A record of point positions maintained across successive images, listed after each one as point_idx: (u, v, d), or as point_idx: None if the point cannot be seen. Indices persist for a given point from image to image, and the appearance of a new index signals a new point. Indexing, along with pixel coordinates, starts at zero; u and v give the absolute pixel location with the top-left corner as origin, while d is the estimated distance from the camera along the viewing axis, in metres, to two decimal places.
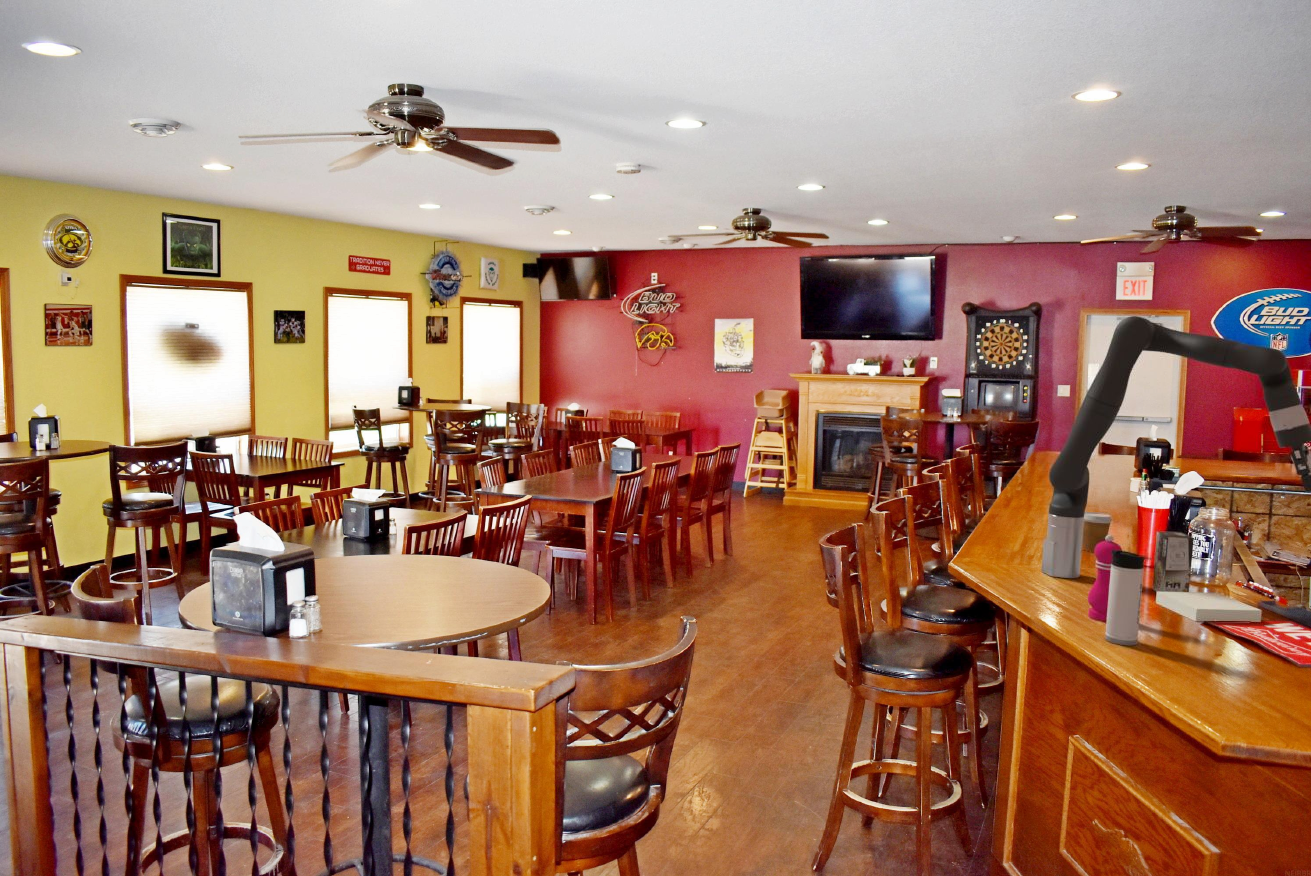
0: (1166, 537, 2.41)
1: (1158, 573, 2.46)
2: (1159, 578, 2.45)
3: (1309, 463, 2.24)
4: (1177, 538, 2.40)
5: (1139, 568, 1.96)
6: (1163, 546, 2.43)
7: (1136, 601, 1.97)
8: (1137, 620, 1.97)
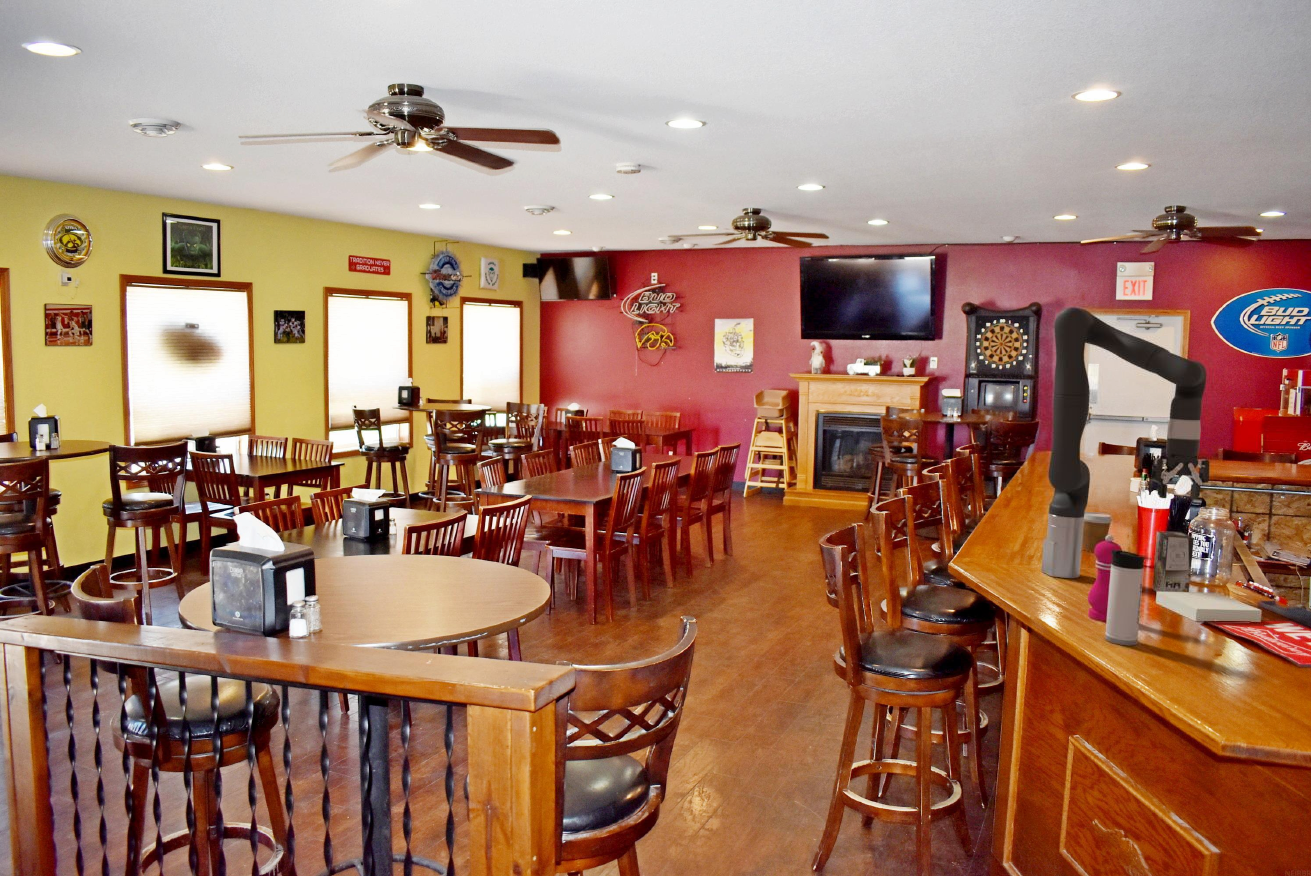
0: (1166, 537, 2.41)
1: (1158, 573, 2.46)
2: (1159, 578, 2.45)
3: (1169, 473, 2.41)
4: (1177, 538, 2.40)
5: (1139, 568, 1.96)
6: (1163, 546, 2.43)
7: (1136, 601, 1.97)
8: (1137, 620, 1.97)
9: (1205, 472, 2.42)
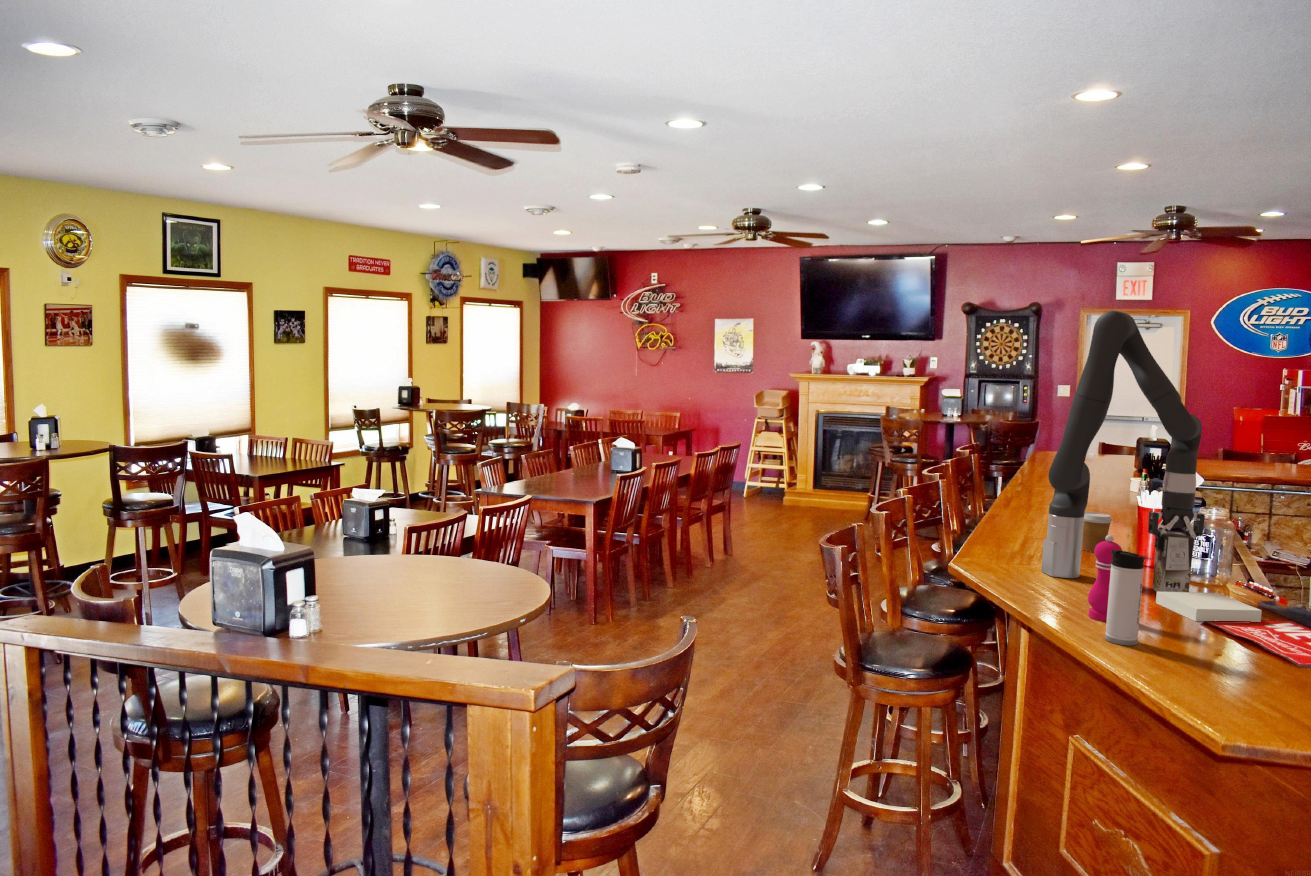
0: (1166, 537, 2.41)
1: (1158, 572, 2.46)
2: (1159, 578, 2.45)
3: (1165, 527, 2.42)
4: (1177, 538, 2.40)
5: (1139, 568, 1.96)
6: None
7: (1136, 601, 1.97)
8: (1137, 620, 1.97)
9: (1200, 526, 2.43)
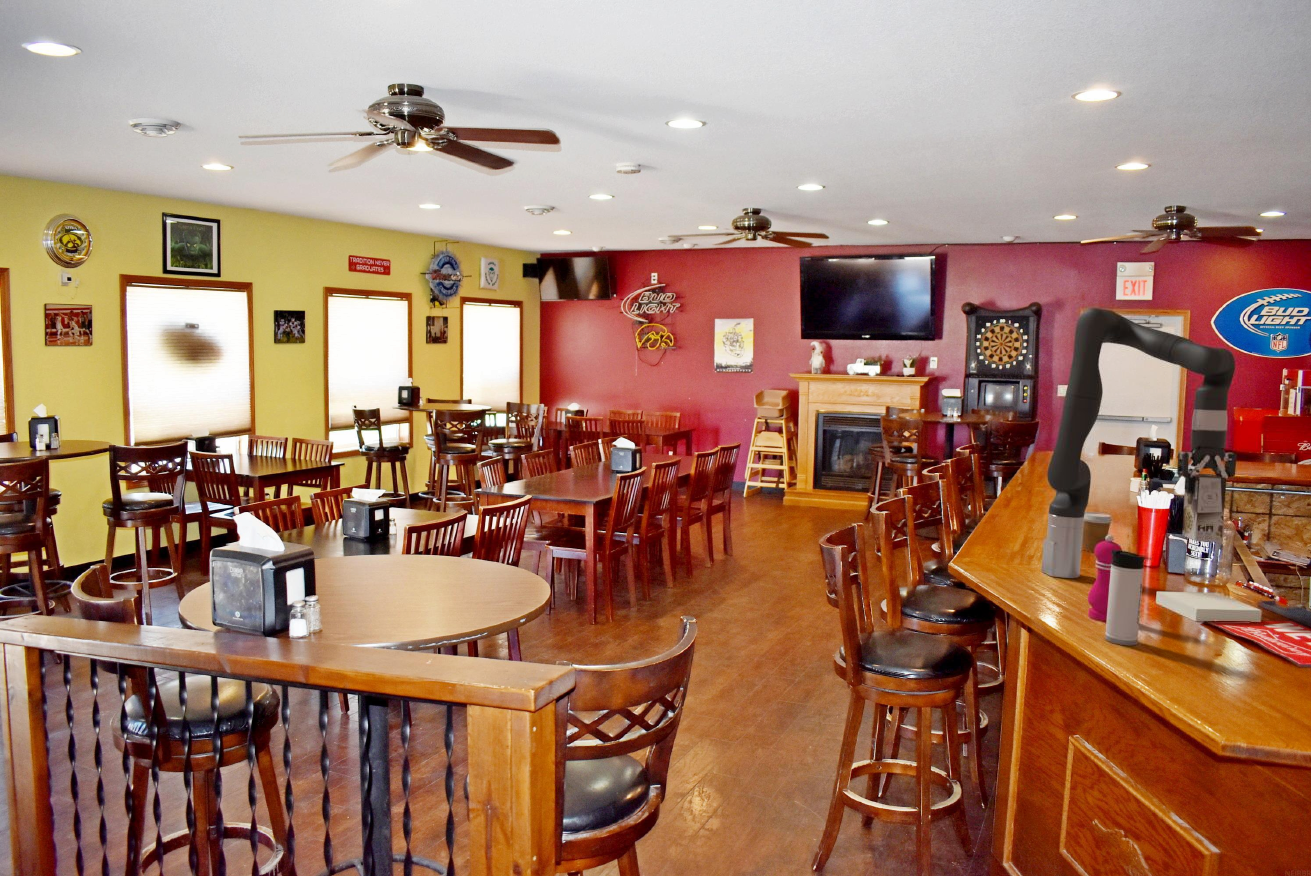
0: (1197, 478, 2.28)
1: (1188, 517, 2.32)
2: (1190, 523, 2.32)
3: (1196, 468, 2.29)
4: (1209, 478, 2.27)
5: (1139, 568, 1.96)
6: None
7: (1136, 601, 1.97)
8: (1137, 620, 1.97)
9: (1231, 466, 2.30)
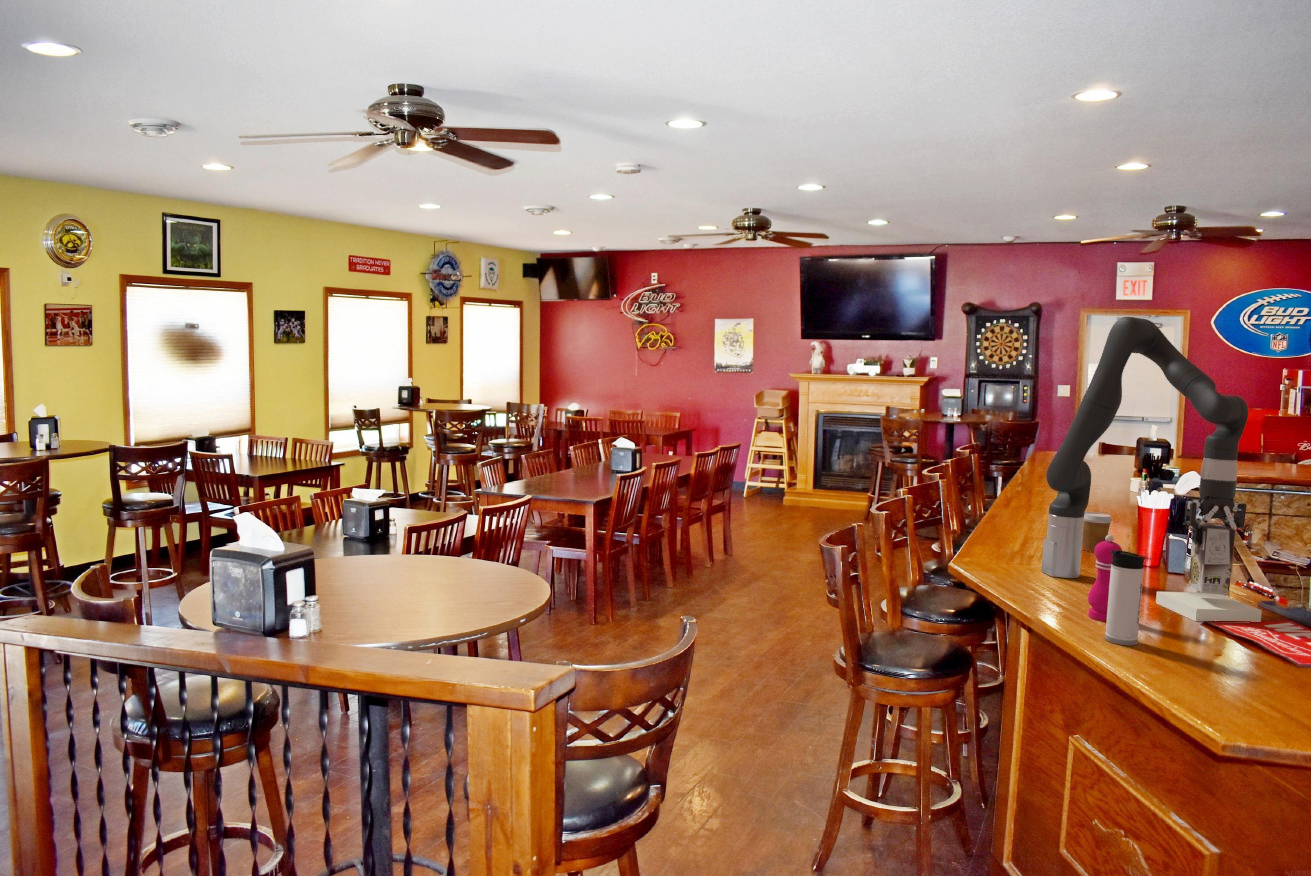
0: (1205, 529, 2.23)
1: (1195, 567, 2.27)
2: (1196, 573, 2.26)
3: (1204, 518, 2.24)
4: (1217, 530, 2.21)
5: (1139, 568, 1.96)
6: None
7: (1136, 601, 1.97)
8: (1137, 620, 1.97)
9: (1241, 516, 2.24)
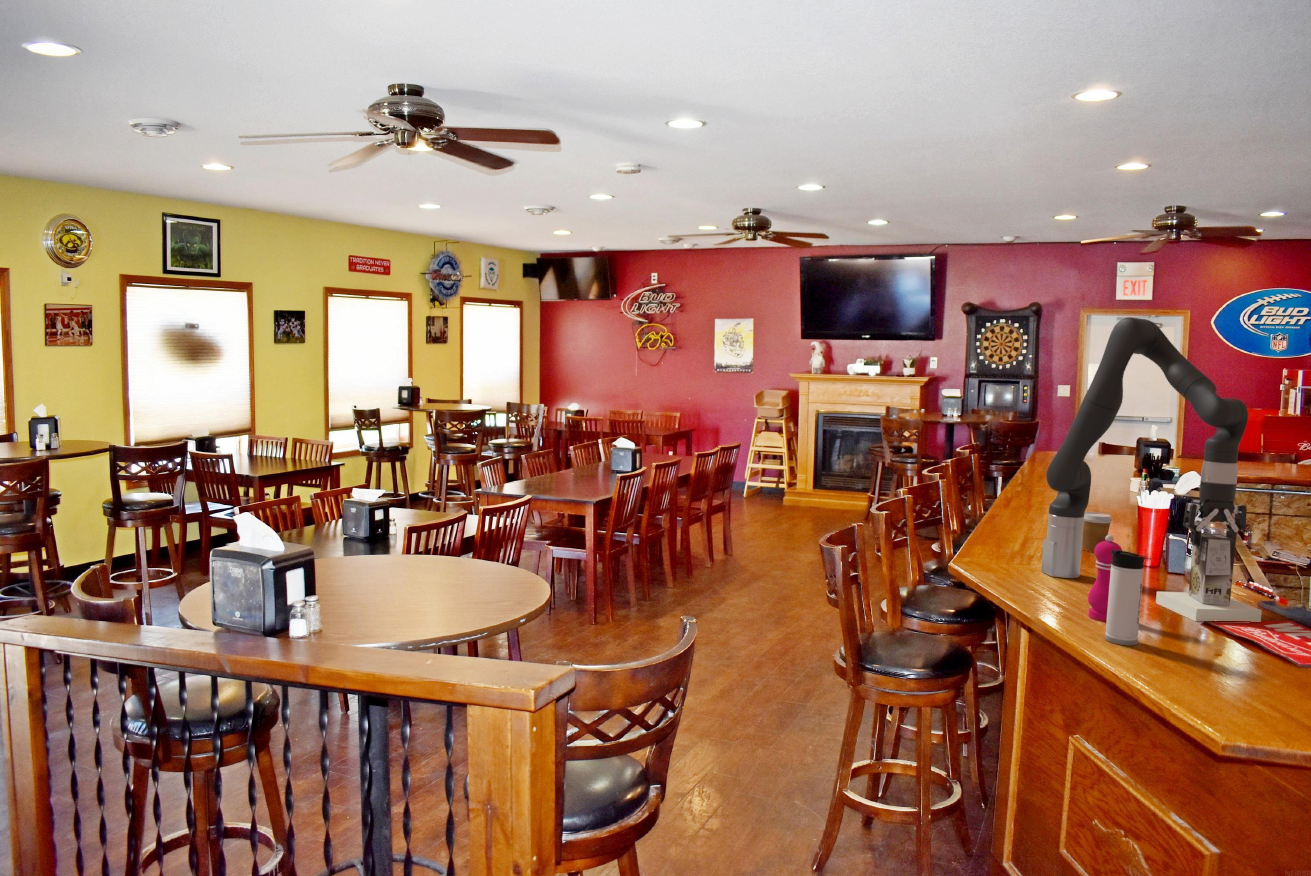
0: (1206, 539, 2.23)
1: (1196, 578, 2.27)
2: (1197, 584, 2.27)
3: (1203, 520, 2.24)
4: (1218, 540, 2.22)
5: (1139, 568, 1.96)
6: (1201, 549, 2.25)
7: (1136, 601, 1.97)
8: (1137, 620, 1.97)
9: (1242, 518, 2.24)
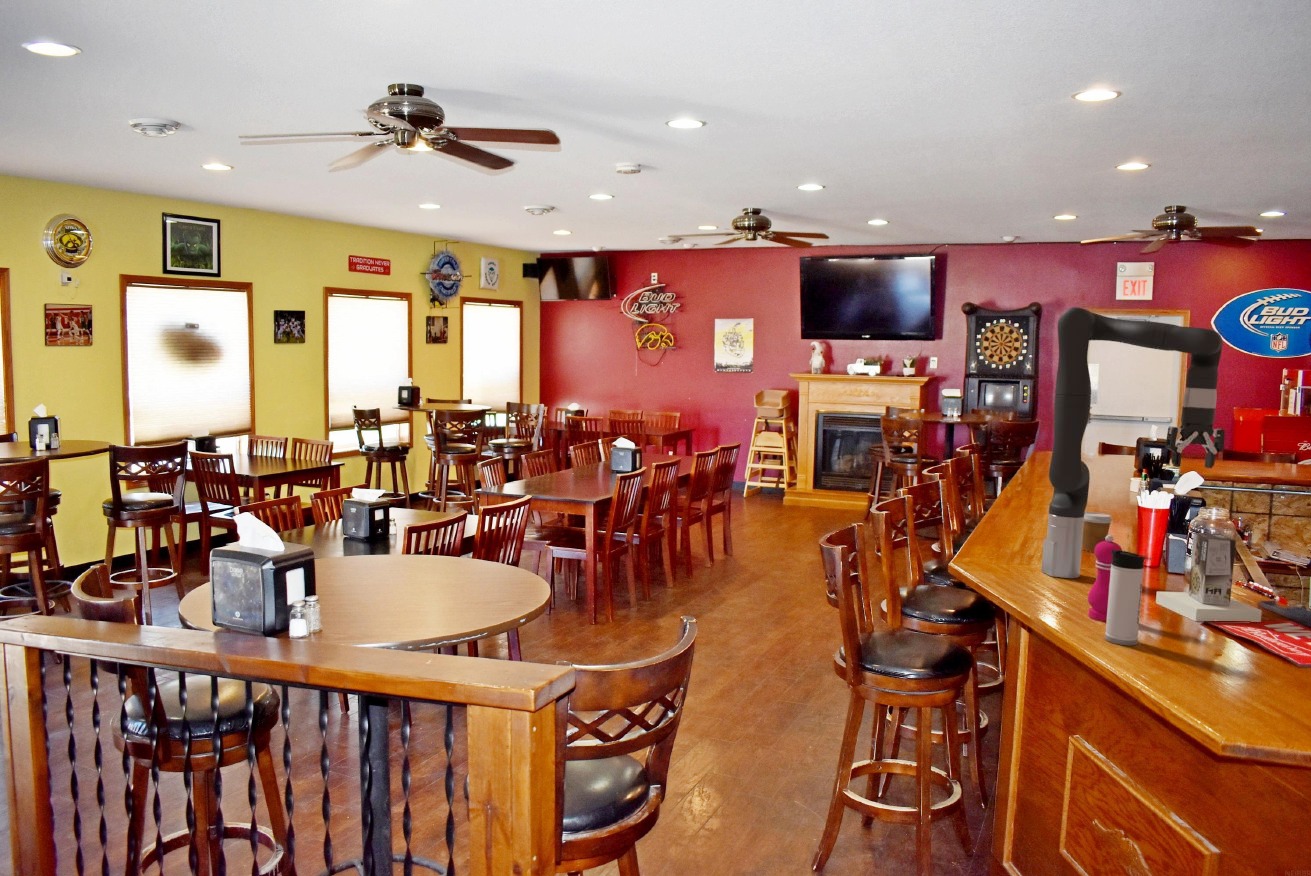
0: (1206, 539, 2.23)
1: (1196, 578, 2.27)
2: (1197, 584, 2.27)
3: (1183, 442, 2.41)
4: (1218, 540, 2.22)
5: (1139, 568, 1.96)
6: (1201, 549, 2.25)
7: (1136, 601, 1.97)
8: (1137, 620, 1.97)
9: (1220, 441, 2.41)
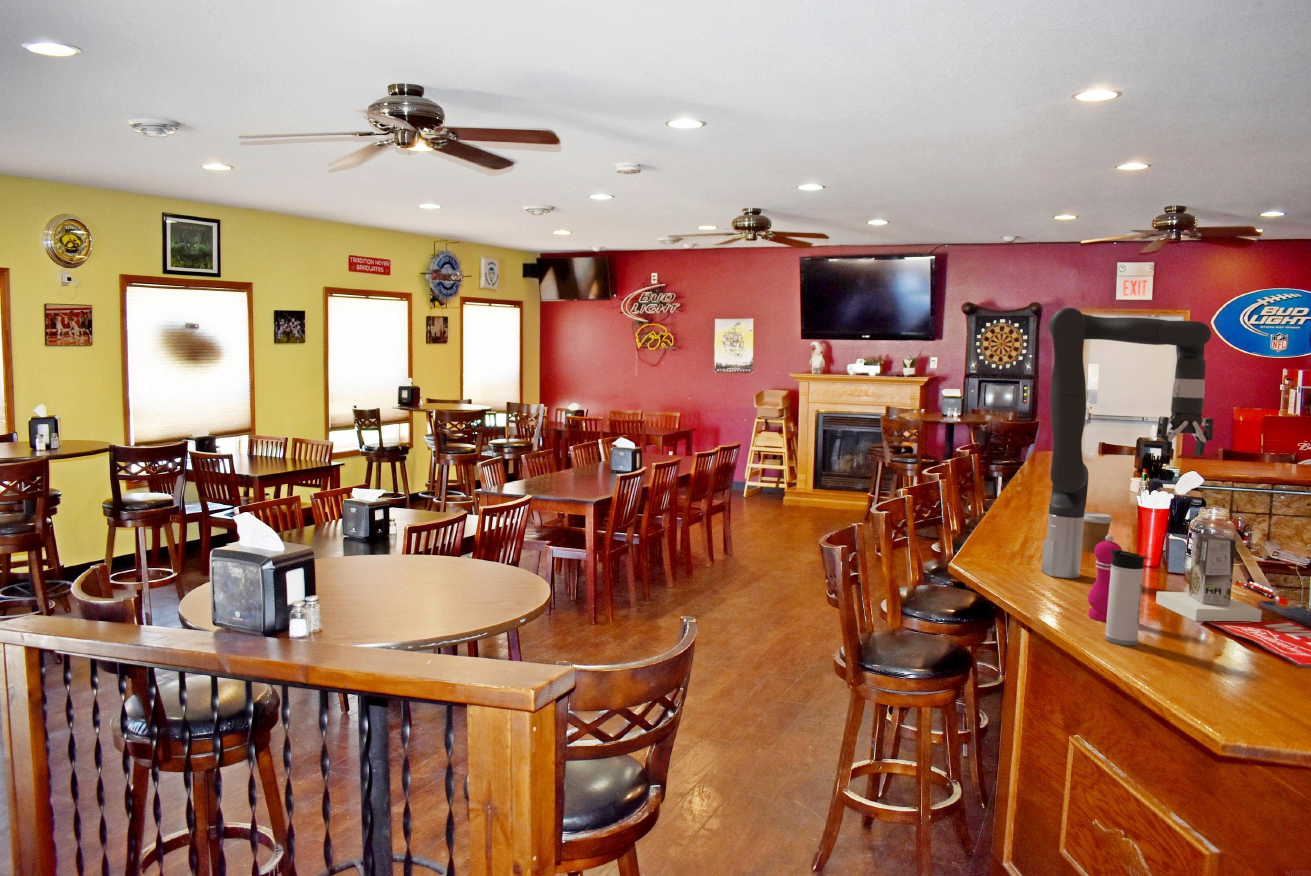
0: (1206, 539, 2.23)
1: (1196, 578, 2.27)
2: (1197, 584, 2.27)
3: (1174, 431, 2.49)
4: (1218, 540, 2.22)
5: (1139, 568, 1.96)
6: (1201, 549, 2.25)
7: (1136, 601, 1.97)
8: (1137, 620, 1.97)
9: (1209, 430, 2.50)
